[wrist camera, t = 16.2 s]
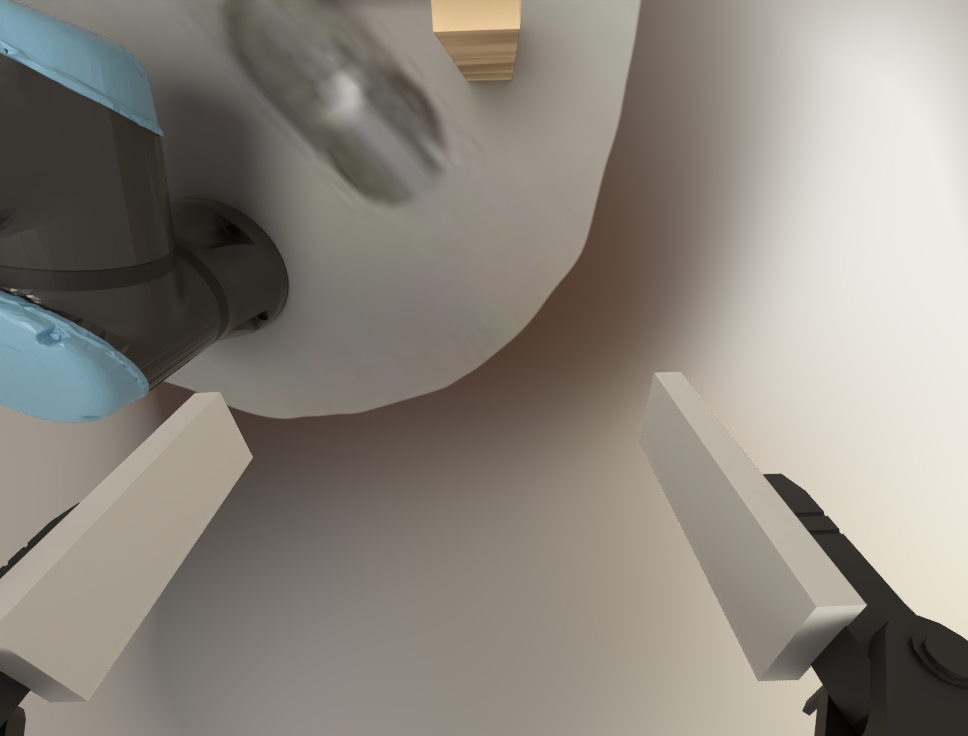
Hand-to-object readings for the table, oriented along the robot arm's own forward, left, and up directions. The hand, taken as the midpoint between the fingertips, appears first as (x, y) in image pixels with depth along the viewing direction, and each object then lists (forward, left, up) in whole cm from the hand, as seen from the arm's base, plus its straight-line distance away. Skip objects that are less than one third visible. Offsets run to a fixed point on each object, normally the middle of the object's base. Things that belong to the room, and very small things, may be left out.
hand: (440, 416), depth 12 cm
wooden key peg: (+1, +14, -34) cm, 36 cm away
